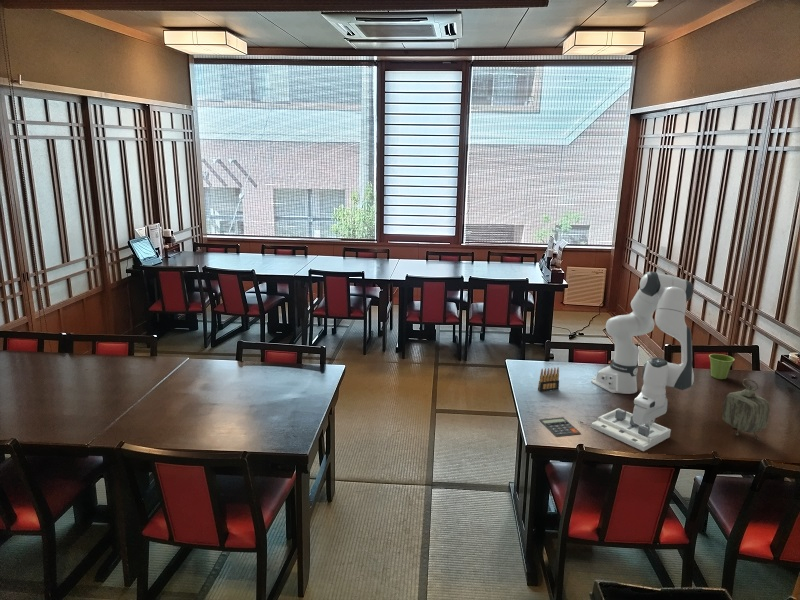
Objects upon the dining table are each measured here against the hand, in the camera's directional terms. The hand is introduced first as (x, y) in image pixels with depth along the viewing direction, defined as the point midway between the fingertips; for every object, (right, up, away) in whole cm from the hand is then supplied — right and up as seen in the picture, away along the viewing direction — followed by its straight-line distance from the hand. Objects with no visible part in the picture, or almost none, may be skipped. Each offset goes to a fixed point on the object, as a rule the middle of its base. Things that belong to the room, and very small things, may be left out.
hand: (648, 428), depth 220 cm
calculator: (-34, -2, +10) cm, 35 cm away
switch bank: (-5, -3, +6) cm, 9 cm away
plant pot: (+69, +11, +66) cm, 96 cm away
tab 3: (-3, -3, -1) cm, 4 cm away
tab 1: (-6, +1, +13) cm, 15 cm away
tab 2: (-2, 0, +8) cm, 8 cm away
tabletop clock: (+41, -4, +5) cm, 42 cm away
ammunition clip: (-28, +8, +47) cm, 56 cm away
